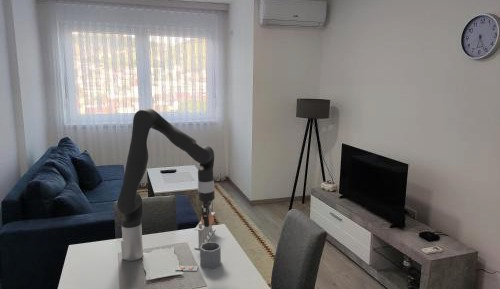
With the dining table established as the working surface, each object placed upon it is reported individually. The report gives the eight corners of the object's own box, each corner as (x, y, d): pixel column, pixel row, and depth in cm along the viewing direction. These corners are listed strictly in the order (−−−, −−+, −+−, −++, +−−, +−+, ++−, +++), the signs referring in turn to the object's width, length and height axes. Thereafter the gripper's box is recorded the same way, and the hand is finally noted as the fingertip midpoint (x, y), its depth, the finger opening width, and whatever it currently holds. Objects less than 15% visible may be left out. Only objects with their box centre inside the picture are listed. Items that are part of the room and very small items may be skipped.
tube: (199, 268, 163) (199, 250, 161) (202, 258, 172) (202, 241, 170) (219, 269, 163) (218, 251, 161) (221, 259, 172) (221, 242, 170)
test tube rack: (202, 250, 181) (202, 226, 178) (194, 249, 182) (193, 225, 179) (215, 229, 205) (215, 208, 203) (208, 229, 206) (208, 208, 203)
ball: (200, 228, 161) (199, 215, 160) (202, 222, 167) (202, 211, 166) (213, 228, 161) (212, 215, 160) (214, 222, 167) (214, 211, 166)
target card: (175, 270, 161) (175, 269, 161) (177, 266, 165) (177, 265, 165) (196, 271, 161) (196, 270, 161) (198, 266, 165) (198, 265, 164)
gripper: (200, 185, 168) (202, 217, 171) (195, 194, 154) (197, 230, 157) (216, 184, 168) (217, 217, 171) (212, 194, 153) (213, 230, 157)
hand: (207, 223), depth 164 cm, fingers closed on ball, 6 cm apart
